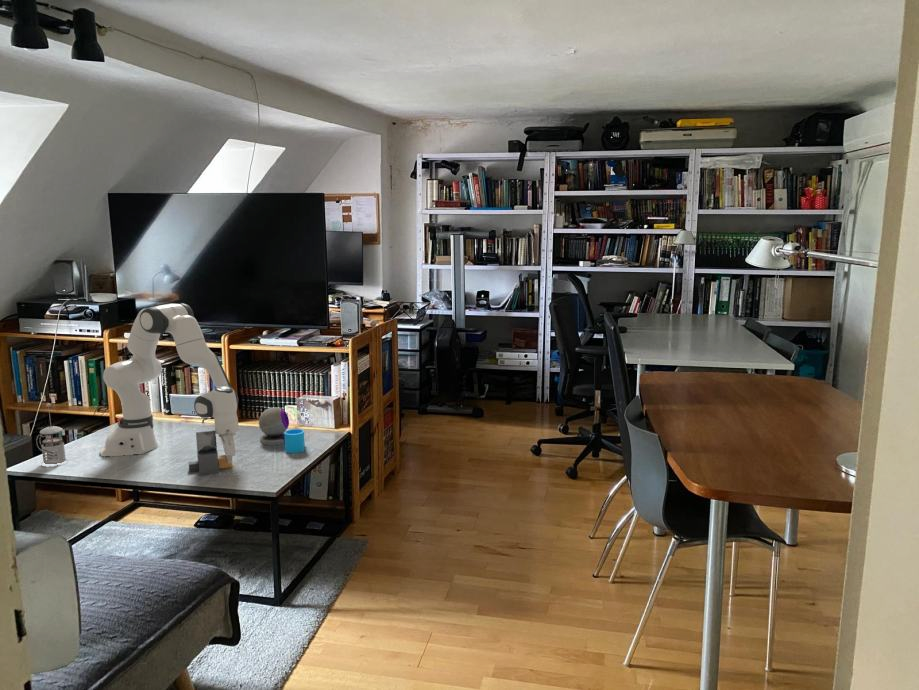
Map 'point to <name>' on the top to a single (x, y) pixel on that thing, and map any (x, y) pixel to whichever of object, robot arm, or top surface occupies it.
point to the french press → (56, 452)
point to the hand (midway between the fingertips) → (229, 460)
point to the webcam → (273, 426)
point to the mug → (294, 441)
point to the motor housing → (207, 452)
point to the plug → (221, 463)
